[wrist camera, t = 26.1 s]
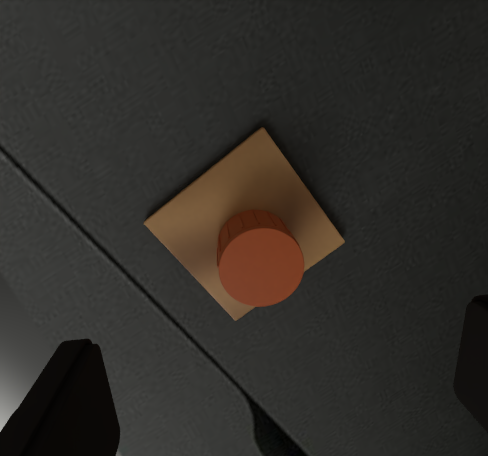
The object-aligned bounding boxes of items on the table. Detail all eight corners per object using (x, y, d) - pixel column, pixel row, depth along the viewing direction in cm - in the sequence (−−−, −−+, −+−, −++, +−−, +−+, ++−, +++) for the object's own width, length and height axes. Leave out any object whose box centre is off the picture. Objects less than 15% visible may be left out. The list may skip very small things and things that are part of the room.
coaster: (144, 220, 18) (142, 223, 18) (261, 126, 17) (263, 126, 17) (235, 316, 21) (235, 321, 20) (342, 239, 20) (345, 242, 19)
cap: (245, 290, 20) (252, 322, 17) (201, 238, 18) (199, 262, 15) (304, 250, 19) (321, 275, 16) (262, 193, 18) (273, 209, 15)
